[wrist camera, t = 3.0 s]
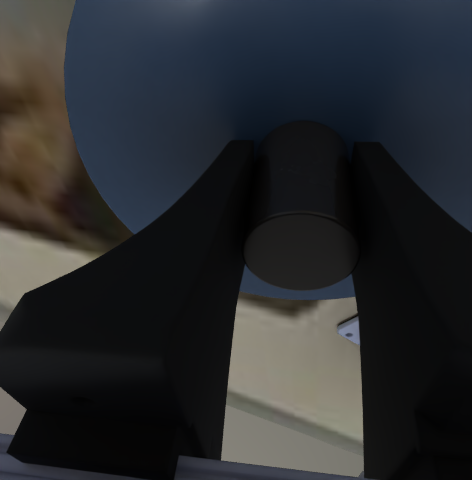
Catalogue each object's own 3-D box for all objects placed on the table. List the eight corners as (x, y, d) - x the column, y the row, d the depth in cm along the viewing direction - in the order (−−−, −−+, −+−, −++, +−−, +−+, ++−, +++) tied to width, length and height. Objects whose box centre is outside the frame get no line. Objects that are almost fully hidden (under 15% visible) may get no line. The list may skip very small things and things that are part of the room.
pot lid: (682, 110, 10) (869, 245, 6) (311, 315, 18) (312, 418, 15) (266, -490, 5) (194, -1058, 2) (29, 162, 14) (-56, 263, 10)
